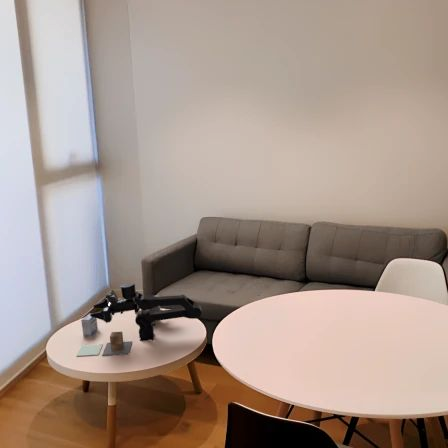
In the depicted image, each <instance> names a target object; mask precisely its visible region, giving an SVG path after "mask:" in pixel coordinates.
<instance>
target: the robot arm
mask: <svg viewBox="0 0 448 448" xmlns="http://www.w3.org/2000/svg"><path fill="white" fill-rule="evenodd" d="M119 287H120V291H121V294H122V298H123V299H122V298H121V297H120V298H119V297H118V296H117V294H116V292H115V291H114V290H113V289H111V290H108V291H107V292H106V294H105V298H104V300H102V301H100V302H98V303H95V304H94V305H93V306H92V307H93V308H95V309H100V311H96V312H93V313H89V314H90V316H91V317H94V318H97V320H101V321H103V322H105V323H106V324H107V323H111V322H112V319H113V316H115V314H118V313H120V315H121V314H122V315H123V314H124V313H125V312H130V311H134V314H135V320H134V321H135V324H136V326H138V327H139V329H138V335H139V336H138V337H139V341H142V342H143V341H154V339H155V336H156V335H155V331H154V326H153V324H152V322H154V321H155V322H157V321H159V322H160V321H166V320H171V319H173V320H174V319H179V318H185V319H190V320H191V319H192V320H195V319H200V317H201V316H202V305H200V303H198V302H196V301H194V300H193V299H192V298H189V297H187V296H186V295H185V294H180V295H178V294H177V295H165V296H163V295H162V296H163V297H155V296H156V295H150V294H142V293H140V292H138V291H137V290H136V289H137V288H136V284H135V283H131V282H130V283H129V282H126V283H123V284H121V285H120V286H119ZM157 306H161V307H167V306H168V307H169V306H181V307H178V308H171V309H167V310H166V309H164V310H163V309H161V310H162V311H155V312H153V311H150V309H152V308H154V307H157Z"/></svg>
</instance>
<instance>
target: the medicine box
mask: <svg viewBox="0 0 448 448" xmlns="http://www.w3.org/2000/svg"><path fill="white" fill-rule="evenodd" d="M90 314H91V313H87V314H86V316H84V317H83V318H82V319H81V328H82V335H83V336H92V335H94V334H95V332H96V331H97V330H98V329H99V328H98V327H99V326H98V318H94V317H91V316H90Z"/></svg>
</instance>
